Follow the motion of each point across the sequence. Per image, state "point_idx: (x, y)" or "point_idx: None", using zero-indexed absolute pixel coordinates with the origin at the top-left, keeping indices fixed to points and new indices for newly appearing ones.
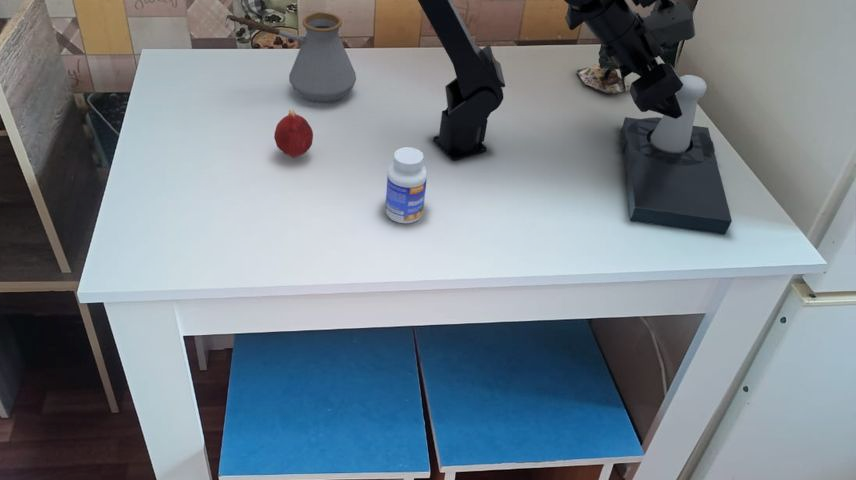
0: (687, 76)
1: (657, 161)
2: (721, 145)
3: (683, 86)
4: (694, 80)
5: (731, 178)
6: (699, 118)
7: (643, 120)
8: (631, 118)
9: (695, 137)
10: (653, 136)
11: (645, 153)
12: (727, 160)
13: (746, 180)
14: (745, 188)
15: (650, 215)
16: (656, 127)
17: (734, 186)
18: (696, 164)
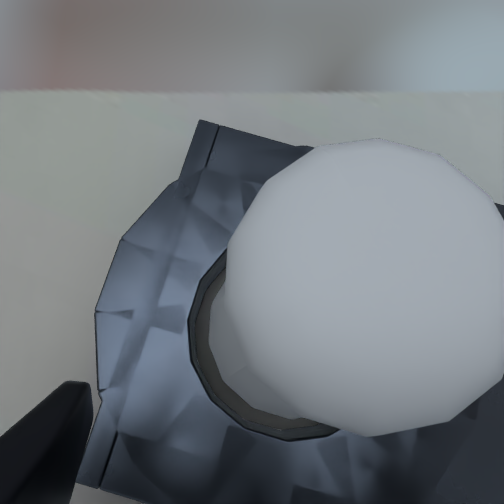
0: (319, 306)
1: (465, 457)
2: (237, 94)
3: (464, 406)
4: (411, 261)
5: (439, 147)
6: (49, 96)
7: (115, 393)
8: (91, 452)
9: None
10: (290, 416)
11: (400, 493)
12: (331, 114)
13: (449, 104)
14: (495, 127)
15: None
16: (265, 404)
17: (486, 158)
18: None
